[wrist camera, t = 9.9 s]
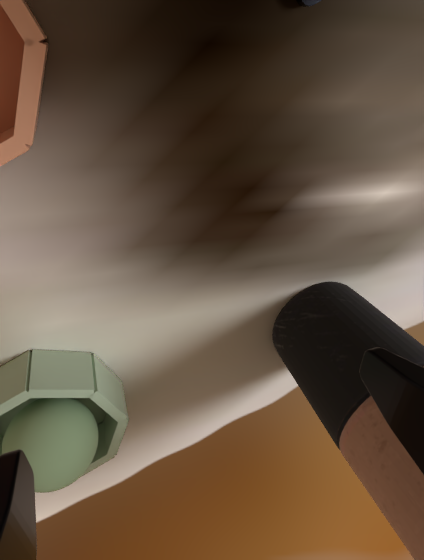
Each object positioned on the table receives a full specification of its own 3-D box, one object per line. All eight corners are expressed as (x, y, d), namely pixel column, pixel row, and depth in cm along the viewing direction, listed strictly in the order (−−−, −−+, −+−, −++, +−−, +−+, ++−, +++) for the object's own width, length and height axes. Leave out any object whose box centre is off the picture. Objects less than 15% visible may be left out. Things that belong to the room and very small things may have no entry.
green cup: (68, 327, 21) (69, 365, 19) (140, 400, 26) (148, 436, 24) (-61, 401, 21) (-77, 449, 18) (37, 460, 26) (35, 503, 23)
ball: (60, 363, 22) (65, 436, 18) (108, 404, 25) (121, 473, 21) (-16, 410, 21) (-28, 494, 17) (42, 445, 24) (43, 523, 20)
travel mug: (371, 271, 27) (821, 611, 11) (345, 350, 31) (646, 682, 15) (276, 285, 24) (673, 741, 9) (261, 368, 29) (513, 784, 13)
